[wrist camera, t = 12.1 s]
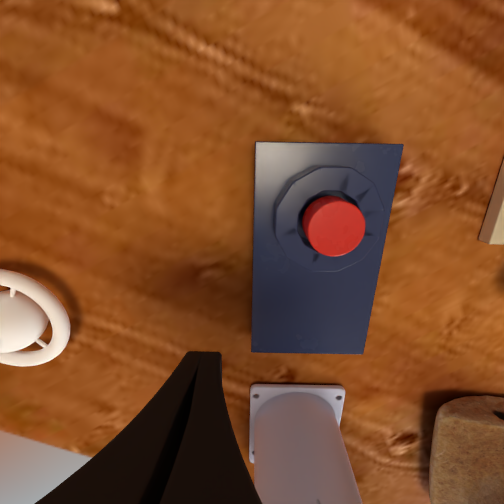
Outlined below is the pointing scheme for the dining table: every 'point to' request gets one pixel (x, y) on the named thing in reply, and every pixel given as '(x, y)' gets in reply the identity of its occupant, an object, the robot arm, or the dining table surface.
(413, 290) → the dining table surface
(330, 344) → the push button base
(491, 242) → the switch box
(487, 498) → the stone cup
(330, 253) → the red push button
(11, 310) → the ring around a ball
